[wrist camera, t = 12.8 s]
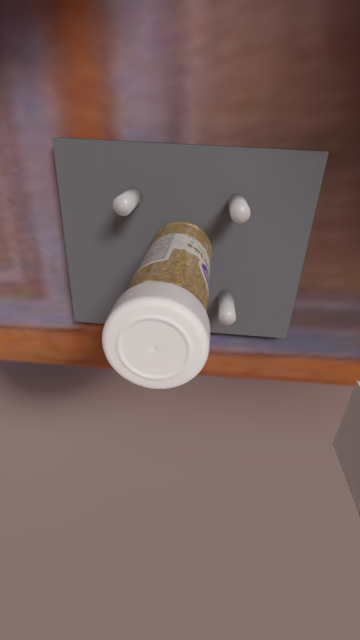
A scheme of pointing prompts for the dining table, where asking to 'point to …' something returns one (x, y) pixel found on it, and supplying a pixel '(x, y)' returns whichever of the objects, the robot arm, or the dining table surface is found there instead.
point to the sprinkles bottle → (163, 312)
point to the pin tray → (194, 207)
